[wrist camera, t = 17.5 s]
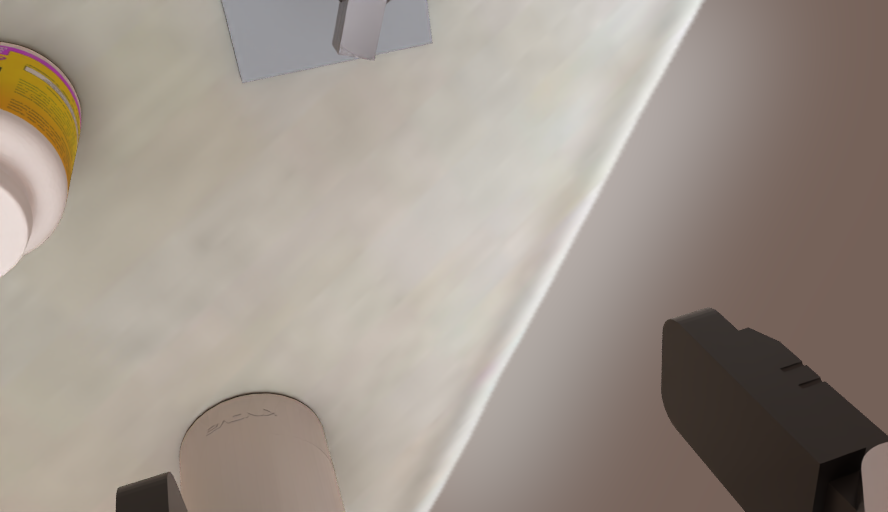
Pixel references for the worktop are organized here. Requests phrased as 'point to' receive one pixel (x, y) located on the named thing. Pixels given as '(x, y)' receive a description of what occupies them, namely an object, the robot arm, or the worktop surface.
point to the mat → (310, 33)
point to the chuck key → (358, 27)
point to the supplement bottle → (33, 149)
